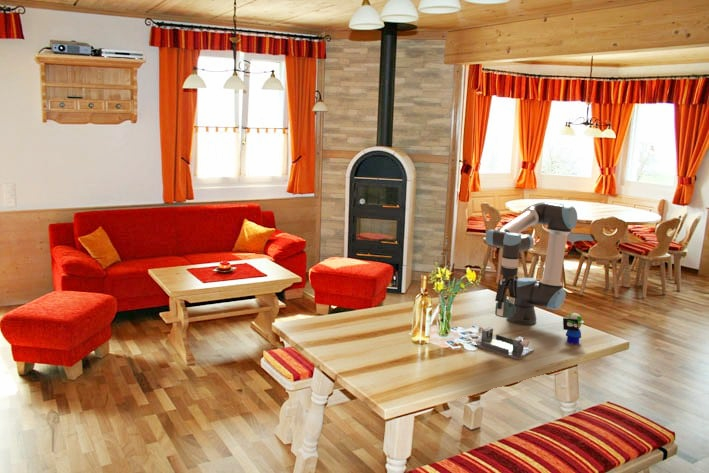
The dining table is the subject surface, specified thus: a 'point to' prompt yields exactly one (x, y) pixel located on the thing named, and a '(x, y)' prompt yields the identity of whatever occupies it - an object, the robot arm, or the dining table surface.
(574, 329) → the toy
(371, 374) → the dining table surface
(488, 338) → the shaft bench
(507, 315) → the bracket
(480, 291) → the dining table surface
